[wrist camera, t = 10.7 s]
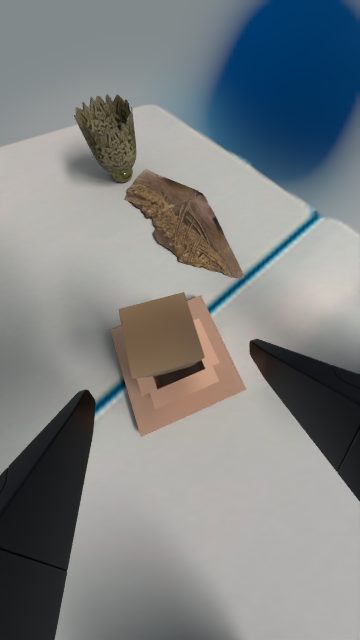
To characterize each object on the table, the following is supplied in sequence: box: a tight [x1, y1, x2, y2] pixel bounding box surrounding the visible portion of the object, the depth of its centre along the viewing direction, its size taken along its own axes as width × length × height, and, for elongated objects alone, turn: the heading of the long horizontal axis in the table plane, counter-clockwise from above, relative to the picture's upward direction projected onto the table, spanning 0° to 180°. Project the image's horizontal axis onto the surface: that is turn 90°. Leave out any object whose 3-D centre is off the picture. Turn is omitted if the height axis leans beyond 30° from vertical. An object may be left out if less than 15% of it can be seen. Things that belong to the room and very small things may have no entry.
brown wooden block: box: [119, 292, 205, 379], centre depth 13 cm, size 3×3×13 cm
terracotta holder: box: [110, 296, 246, 437], centre depth 18 cm, size 12×12×5 cm
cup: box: [74, 95, 136, 183], centre depth 26 cm, size 8×7×8 cm
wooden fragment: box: [125, 169, 244, 278], centre depth 27 cm, size 26×11×1 cm, turn 33°
